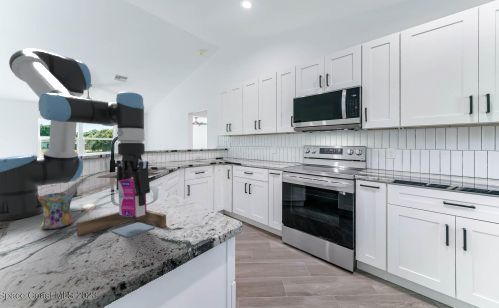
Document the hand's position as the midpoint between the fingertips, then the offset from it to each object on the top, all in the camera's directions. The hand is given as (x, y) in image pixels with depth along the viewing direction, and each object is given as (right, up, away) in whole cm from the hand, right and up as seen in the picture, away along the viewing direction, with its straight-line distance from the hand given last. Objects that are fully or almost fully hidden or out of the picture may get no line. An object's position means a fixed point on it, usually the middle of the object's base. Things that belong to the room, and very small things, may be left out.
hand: (133, 213), depth 71 cm
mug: (-29, -5, +5) cm, 30 cm away
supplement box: (0, -1, 0) cm, 1 cm away
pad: (0, -5, 0) cm, 5 cm away
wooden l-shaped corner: (-3, -5, 0) cm, 6 cm away
